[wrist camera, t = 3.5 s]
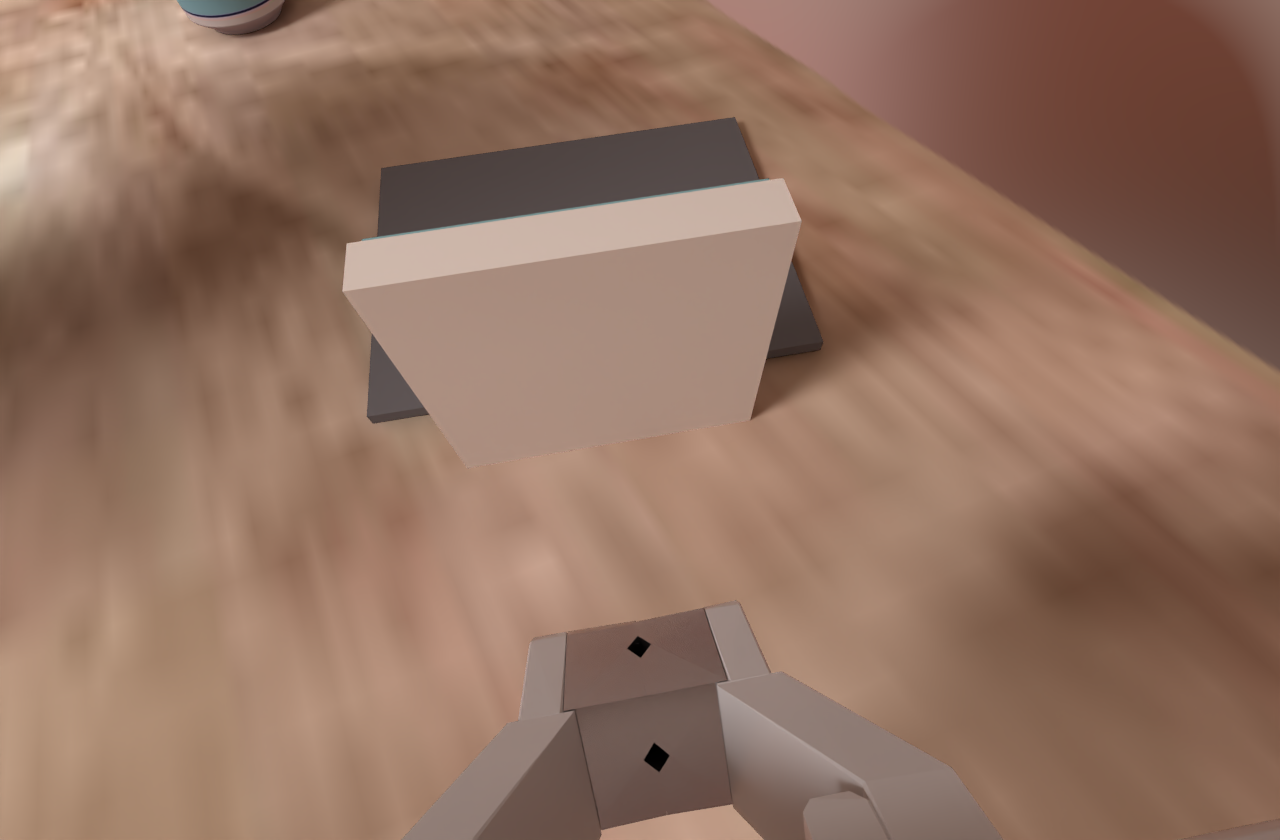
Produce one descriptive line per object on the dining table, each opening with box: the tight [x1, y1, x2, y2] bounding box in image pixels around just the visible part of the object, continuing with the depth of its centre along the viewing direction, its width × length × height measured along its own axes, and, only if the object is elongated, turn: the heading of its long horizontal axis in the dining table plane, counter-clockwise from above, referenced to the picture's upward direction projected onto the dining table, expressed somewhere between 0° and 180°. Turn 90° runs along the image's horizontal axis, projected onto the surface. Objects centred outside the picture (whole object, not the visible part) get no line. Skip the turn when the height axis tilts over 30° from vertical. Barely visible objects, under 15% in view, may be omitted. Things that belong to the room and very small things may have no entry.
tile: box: [342, 178, 802, 468], centre depth 21 cm, size 2×12×11 cm, turn 100°
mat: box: [367, 117, 823, 423], centre depth 30 cm, size 16×20×1 cm
